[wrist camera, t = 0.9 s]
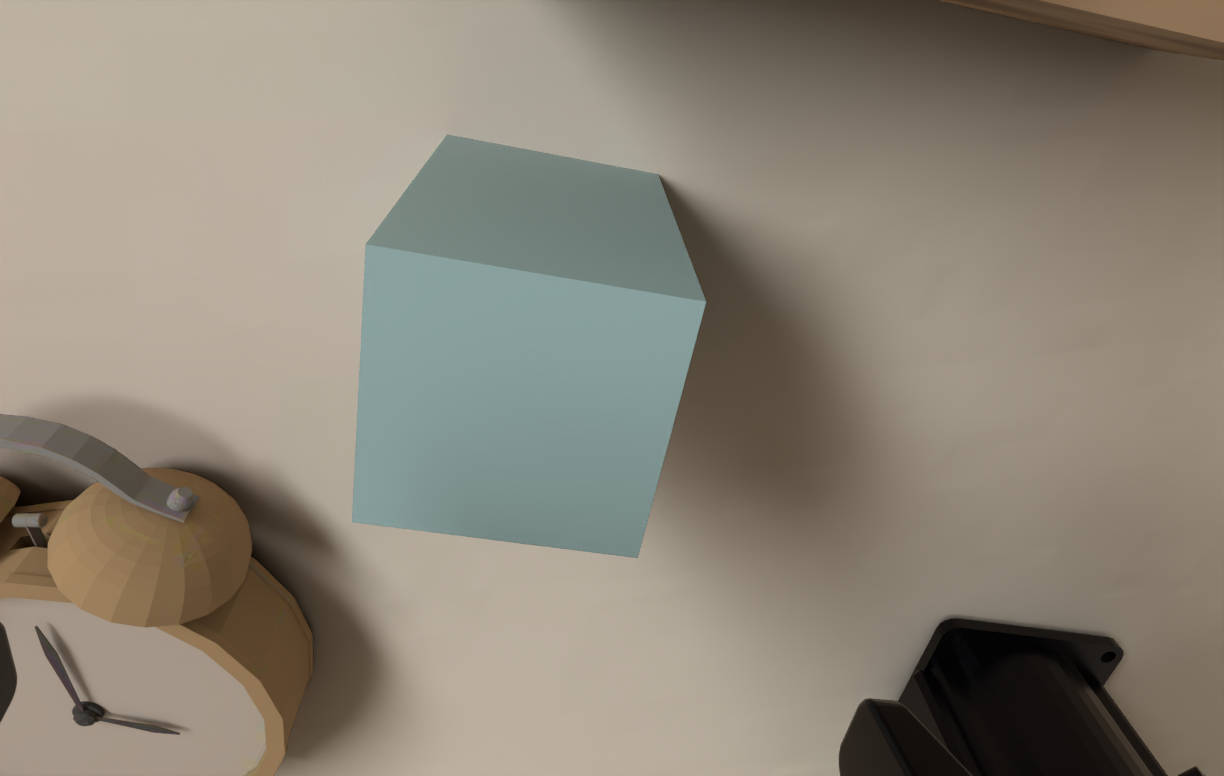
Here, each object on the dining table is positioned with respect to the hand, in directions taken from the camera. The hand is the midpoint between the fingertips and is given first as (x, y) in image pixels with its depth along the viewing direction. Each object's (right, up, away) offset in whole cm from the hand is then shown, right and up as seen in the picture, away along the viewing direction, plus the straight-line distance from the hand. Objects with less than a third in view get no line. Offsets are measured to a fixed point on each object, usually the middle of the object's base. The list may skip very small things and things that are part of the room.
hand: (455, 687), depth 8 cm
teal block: (0, +7, +11) cm, 13 cm away
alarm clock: (-13, -3, +16) cm, 21 cm away
